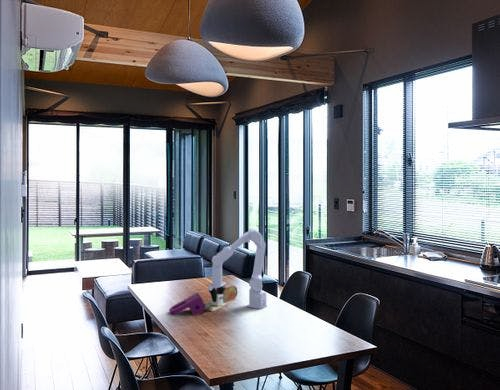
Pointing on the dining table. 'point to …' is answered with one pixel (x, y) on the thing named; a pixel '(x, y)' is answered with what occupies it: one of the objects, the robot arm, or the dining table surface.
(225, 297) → the tin
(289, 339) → the dining table surface
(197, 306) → the mounting bracket
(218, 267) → the robot arm
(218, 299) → the white block
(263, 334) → the dining table surface
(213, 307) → the rail
